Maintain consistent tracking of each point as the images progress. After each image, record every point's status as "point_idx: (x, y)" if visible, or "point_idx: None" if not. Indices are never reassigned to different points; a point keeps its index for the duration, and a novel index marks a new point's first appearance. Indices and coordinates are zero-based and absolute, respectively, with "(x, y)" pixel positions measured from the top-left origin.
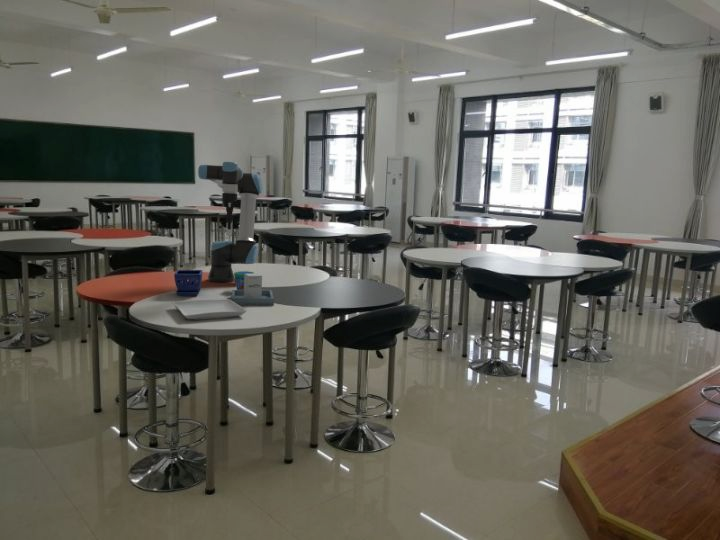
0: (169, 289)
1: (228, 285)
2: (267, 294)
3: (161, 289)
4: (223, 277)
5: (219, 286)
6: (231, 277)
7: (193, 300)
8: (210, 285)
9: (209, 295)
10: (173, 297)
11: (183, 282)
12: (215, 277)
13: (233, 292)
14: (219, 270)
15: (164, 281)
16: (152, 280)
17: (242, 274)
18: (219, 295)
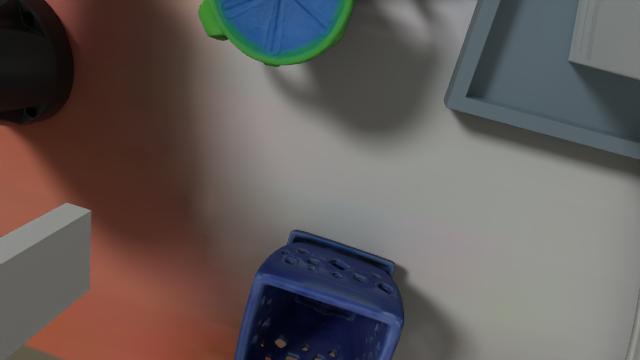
0: (218, 319)
1: (145, 46)
2: None
3: (215, 344)
4: (48, 58)
5: (169, 101)
6: (27, 4)
7: (633, 352)
8: (142, 139)
9: (381, 203)
10: None
11: (271, 315)
12: (46, 100)
13: (528, 121)
14: (5, 83)
15: None
16: None
17: (345, 18)
18: (395, 157)
